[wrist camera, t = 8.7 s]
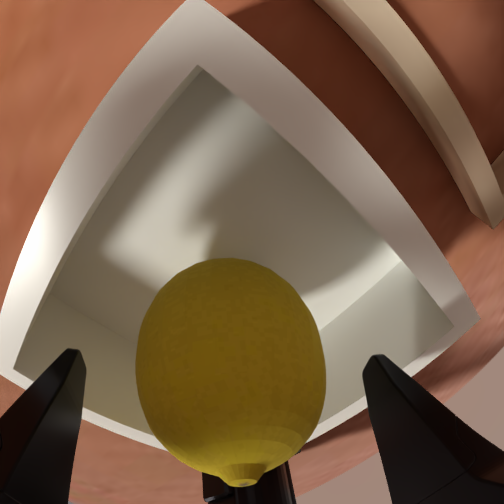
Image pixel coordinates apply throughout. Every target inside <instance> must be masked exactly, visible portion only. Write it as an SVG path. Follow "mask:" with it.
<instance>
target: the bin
mask: <svg viewBox="0 0 504 504" xmlns="http://www.w3.org/2000/svg"><path fill="white" fill-rule="evenodd" d="M216 258H237V259H243V260H249V261H252V262H255V263H257V264H260V265H262V266H264V267H267V268H269V269H271V270H272V271H274V272H275V273H276V274H278V275H279V276H280V277H282V278H283V279H284V280H286V281H287V282H288V283H290V284H291V286H292V287H293V288H294V289H295V290H296V292H297V293H298V294H299V296H300V297H301V299H302V300H303V301H304V303H305V304H306V306H307V307H308V309H309V310H310V312H311V314H312V316H313V318H314V320H315V322H316V325H317V328H318V331H319V335H320V339H321V343H322V347H323V352H324V358H325V365H326V395H325V401H324V406H323V410H322V413H321V417H320V419H319V422H318V425H317V427H316V428H315V430H314V432H313V433H312V435H311V437H310V438H309V439H308V440H307V442H309V441H311V440H312V439H314V438H316V437H318V436H320V435H322V434H324V433H325V432H327V431H329V430H331V429H332V428H334V427H336V426H338V425H339V424H341V423H343V422H344V421H346V420H348V419H349V418H351V417H353V416H354V415H356V414H358V413H359V412H361V411H362V410H364V409H366V408H367V407H368V406H367V400H366V395H365V389H364V384H363V379H362V372H363V369H364V367H365V366H366V364H367V362H368V360H369V358H370V357H371V356H372V355H375V354H384V355H385V356H387V357H388V358H389V359H390V360H391V361H392V362H394V363H395V364H396V365H397V366H398V367H400V368H401V369H402V370H403V371H404V372H405V373H407V374H408V375H409V376H410V377H412V376H413V375H415V374H416V373H417V372H419V371H420V370H421V369H423V368H424V367H425V366H426V365H428V364H429V363H430V362H431V361H433V360H434V359H435V358H436V357H438V356H439V355H440V354H441V353H443V352H444V351H445V350H446V349H447V348H449V347H450V346H451V345H452V344H453V343H454V342H456V341H457V340H458V339H459V338H460V337H461V336H462V335H464V334H465V333H466V332H467V331H468V330H469V329H470V328H471V327H472V326H474V325H475V324H476V323H477V322H478V321H479V320H480V317H479V315H478V313H477V311H476V309H475V307H474V306H473V304H472V302H471V300H470V298H469V297H468V295H467V293H466V291H465V290H464V288H463V286H462V285H461V283H460V281H459V279H458V278H457V276H456V274H455V273H454V271H453V270H452V268H451V266H450V265H449V263H448V262H447V260H446V258H445V257H444V255H443V254H442V252H441V251H440V249H439V247H438V246H437V244H436V243H435V241H434V240H433V238H432V237H431V235H430V234H429V233H428V231H427V230H426V228H425V227H424V225H423V224H422V222H421V221H420V220H419V218H418V217H417V215H416V214H415V213H414V211H413V210H412V208H411V207H410V206H409V204H408V203H407V202H406V200H405V199H404V198H403V196H402V195H401V194H400V192H399V191H398V190H397V188H396V187H395V186H394V185H393V183H392V182H391V181H390V179H389V178H388V177H387V176H386V174H385V173H384V172H383V171H382V169H381V168H380V167H379V166H378V165H377V163H376V162H375V161H374V160H373V158H372V157H371V156H370V155H369V154H368V153H367V151H366V150H365V149H364V148H363V147H362V146H361V144H360V143H359V142H358V141H357V140H356V139H355V137H354V136H353V135H352V134H351V133H350V132H349V131H348V130H347V129H346V127H345V126H344V125H343V124H342V123H341V122H340V121H339V120H338V119H337V118H336V117H335V116H334V114H333V113H332V112H331V111H330V110H329V109H328V108H327V107H326V106H325V105H324V104H323V103H322V102H321V101H320V100H319V99H318V98H317V97H316V96H315V95H314V94H313V93H312V92H311V91H310V90H309V89H308V88H307V87H306V86H305V85H304V84H303V83H302V82H301V81H300V80H299V79H298V78H297V77H296V76H295V75H294V74H293V73H292V72H290V71H289V70H288V69H287V68H286V67H285V66H284V65H283V64H282V63H281V62H280V61H278V60H277V59H276V58H275V57H274V56H273V55H272V54H271V53H269V52H268V51H267V50H266V49H265V48H264V47H263V46H261V45H260V44H259V43H258V42H257V41H256V40H254V39H253V38H252V37H251V36H250V35H248V34H247V33H246V32H245V31H243V30H242V29H241V28H240V27H238V26H237V25H236V24H235V23H233V22H232V21H231V20H230V19H228V18H227V17H226V16H224V15H223V14H222V13H220V12H219V11H218V10H216V9H215V8H214V7H212V6H211V5H210V4H208V3H207V2H206V1H204V0H186V1H185V2H184V3H183V4H182V5H181V6H180V7H179V8H178V9H177V10H176V11H175V12H174V13H173V14H172V15H171V16H170V17H169V18H168V19H167V20H166V22H165V23H164V24H163V25H162V26H161V27H160V28H159V29H158V30H157V31H156V33H155V34H154V35H153V36H152V37H151V38H150V39H149V41H148V42H147V43H146V44H145V45H144V46H143V48H142V49H141V50H140V51H139V52H138V54H137V55H136V56H135V57H134V59H133V60H132V61H131V62H130V64H129V65H128V66H127V67H126V69H125V70H124V71H123V73H122V74H121V75H120V77H119V78H118V79H117V81H116V82H115V83H114V85H113V86H112V87H111V89H110V90H109V91H108V93H107V94H106V96H105V97H104V99H103V100H102V101H101V103H100V104H99V106H98V107H97V109H96V110H95V112H94V113H93V115H92V116H91V118H90V119H89V121H88V122H87V124H86V126H85V127H84V129H83V130H82V132H81V134H80V135H79V137H78V138H77V140H76V142H75V143H74V145H73V147H72V149H71V150H70V152H69V154H68V155H67V157H66V159H65V161H64V163H63V164H62V166H61V168H60V170H59V172H58V174H57V175H56V177H55V179H54V181H53V183H52V185H51V187H50V189H49V191H48V193H47V195H46V197H45V199H44V201H43V203H42V205H41V207H40V210H39V212H38V214H37V216H36V218H35V221H34V223H33V225H32V227H31V230H30V232H29V234H28V237H27V239H26V242H25V244H24V247H23V249H22V252H21V254H20V257H19V259H18V262H17V265H16V267H15V270H14V273H13V276H12V279H11V282H10V285H9V288H8V291H7V294H6V297H5V300H4V304H3V307H2V310H1V314H0V374H1V375H2V376H4V377H5V378H7V379H8V380H10V381H12V382H13V383H15V384H17V385H18V386H20V387H22V388H24V389H25V390H27V388H28V387H29V386H30V385H31V384H32V383H33V382H34V381H35V380H36V379H37V378H38V377H39V376H40V375H41V374H42V373H43V372H44V371H45V370H46V369H47V368H48V367H49V366H50V365H51V364H52V363H53V362H54V361H55V360H56V359H57V358H58V357H59V355H60V354H61V353H62V352H63V351H64V350H66V349H67V348H73V349H78V350H80V351H81V353H82V356H83V359H84V362H85V365H86V370H87V373H86V382H85V390H84V400H83V410H82V419H84V420H86V421H89V422H91V423H93V424H95V425H98V426H100V427H102V428H105V429H107V430H110V431H112V432H115V433H117V434H120V435H123V436H125V437H128V438H131V439H133V440H136V441H139V442H142V443H145V444H148V445H151V446H154V447H157V448H160V449H163V450H166V451H168V450H167V449H166V448H165V447H164V446H163V445H162V444H161V443H160V442H159V441H158V440H157V439H156V437H155V436H154V434H153V432H152V431H151V429H150V428H149V425H148V423H147V420H146V418H145V415H144V412H143V410H142V407H141V404H140V400H139V396H138V390H137V384H136V374H135V361H136V351H137V343H138V336H139V331H140V327H141V324H142V321H143V318H144V316H145V314H146V312H147V310H148V308H149V307H150V305H151V303H152V301H153V300H154V298H155V296H156V295H157V293H158V292H159V290H160V289H161V288H162V287H163V286H164V285H165V284H166V283H167V282H168V281H169V280H171V279H172V278H173V277H174V276H175V275H176V274H177V273H179V272H181V271H183V270H184V269H186V268H188V267H190V266H192V265H194V264H196V263H199V262H203V261H207V260H210V259H216ZM307 442H306V443H307Z"/></svg>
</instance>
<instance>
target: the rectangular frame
mask: <svg viewBox="0 0 504 504" xmlns="http://www.w3.org/2000/svg"><path fill="white" fill-rule="evenodd" d="M313 1H315V2H316V3H317V4H318V5H319V6H320V7H321V8H322V9H323V10H324V11H325V12H326V13H327V14H328V15H329V16H330V17H331V18H332V19H333V20H334V21H335V22H336V23H337V24H338V25H339V26H340V27H341V28H342V29H343V30H344V31H345V32H346V33H347V34H348V35H349V36H350V37H351V38H352V39H353V41H354V42H355V43H356V44H357V45H358V46H359V47H360V48H361V49H362V51H363V52H364V53H365V54H366V55H367V56H368V57H369V59H370V60H371V61H372V62H373V63H374V64H375V66H376V67H377V68H378V69H379V70H380V72H381V73H382V74H383V75H384V77H385V78H386V79H387V80H388V82H389V83H390V84H391V85H392V87H393V88H394V89H395V91H396V92H397V93H398V95H399V96H400V97H401V99H402V100H403V101H404V103H405V104H406V105H407V107H408V108H409V109H410V111H411V112H412V114H413V115H414V117H415V118H416V119H417V121H418V122H419V124H420V125H421V127H422V128H423V130H424V131H425V133H426V134H427V136H428V137H429V139H430V140H431V142H432V144H433V145H434V147H435V148H436V150H437V152H438V153H439V155H440V157H441V158H442V160H443V162H444V163H445V165H446V167H447V168H448V170H449V172H450V174H451V175H452V177H453V179H454V181H455V182H456V184H457V186H458V188H459V190H460V192H461V194H462V195H463V197H464V199H465V201H466V203H467V205H468V207H469V209H470V211H471V213H473V214H474V215H475V216H477V217H478V218H479V219H481V220H482V221H483V222H484V223H486V224H487V225H488V226H489V227H491V228H492V229H494V228H495V227H496V226H497V225H498V224H499V223H500V222H501V220H502V219H503V218H504V150H503V152H502V153H501V154H500V155H499V156H498V158H497V159H496V160H495V161H494V162H493V163H492V165H491V166H490V164H489V161H488V159H487V157H486V155H485V152H484V150H483V148H482V146H481V144H480V142H479V140H478V138H477V136H476V134H475V132H474V130H473V128H472V126H471V124H470V122H469V120H468V118H467V116H466V114H465V113H464V111H463V109H462V107H461V105H460V104H459V102H458V100H457V98H456V97H455V95H454V93H453V92H452V90H451V88H450V87H449V85H448V84H447V82H446V80H445V79H444V77H443V76H442V74H441V72H440V71H439V69H438V68H437V66H436V65H435V63H434V62H433V60H432V59H431V58H430V56H429V55H428V53H427V52H426V50H425V49H424V48H423V46H422V45H421V44H420V42H419V41H418V39H417V38H416V37H415V35H414V34H413V33H412V32H411V30H410V29H409V28H408V26H407V25H406V24H405V23H404V21H403V20H402V19H401V18H400V16H399V15H398V14H397V13H396V12H395V11H394V9H393V8H392V7H391V6H390V5H389V4H388V2H387V1H386V0H313Z"/></svg>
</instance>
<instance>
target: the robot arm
mask: <svg viewBox="0 0 504 504" xmlns="http://www.w3.org/2000/svg"><path fill="white" fill-rule="evenodd" d="M86 373H87V370H86V365H85V362H84V359H83V356H82V353H81V351H80V350H78V349H73V348H67V349H66V350H64V351H63V352H62V353H61V354H60V355H59V357H58V358H57V359H56V360H55V361H54V362H53V363H52V364H51V365H50V366H49V367H48V368H47V369H46V370H45V371H44V372H43V373H42V374H41V375H40V376H39V377H38V378H37V379H36V380H35V381H34V382H33V383H32V384H31V385H30V386H29V387H28V388H27V390H26V391H25V392H24V393H23V394H22V395H21V396H20V397H19V398H18V399H17V400H16V401H15V402H14V403H13V405H12V406H11V407H10V408H9V409H8V410H7V411H6V412H5V413H4V414H3V415H2V417H1V418H0V504H68V498H69V490H70V482H71V475H72V469H73V462H74V456H75V450H76V445H77V439H78V434H79V429H80V424H81V418H82V410H83V400H84V390H85V382H86ZM362 379H363V384H364V389H365V395H366V400H367V406H368V412H369V416H370V420H371V424H372V427H373V431H374V434H375V438H376V442H377V445H378V449H379V453H380V456H381V460H382V464H383V467H384V472H385V475H386V479H387V483H388V487H389V492H390V496H391V500H392V504H504V451H502V450H501V449H499V448H498V447H497V446H495V445H494V444H492V443H491V442H489V441H488V440H486V439H485V438H484V437H482V436H481V435H479V434H478V433H477V432H476V431H474V430H473V429H472V428H470V427H469V426H468V425H467V424H465V423H464V422H463V421H462V420H461V419H459V418H458V417H457V416H455V414H454V413H452V412H451V411H450V410H449V409H448V408H447V407H445V406H444V405H443V404H442V403H441V402H440V401H438V400H437V399H436V398H435V397H434V396H433V395H431V394H430V393H429V392H428V391H427V390H425V389H424V388H423V387H422V386H421V385H420V384H418V383H417V382H416V381H415V380H414V379H413V378H411V377H410V376H409V375H408V374H407V373H405V372H404V371H403V370H402V369H401V368H400V367H398V366H397V365H396V364H395V363H394V362H392V361H391V360H390V359H389V358H388V357H387V356H385V355H384V354H375V355H372V356H371V357H370V358H369V360H368V362H367V364H366V366H365V367H364V369H363V372H362ZM300 452H301V449H300V450H299V451H298V452H297V453H296V454H298V453H300ZM296 454H295V455H296ZM293 456H294V455H293ZM202 480H203V498H204V501H205V502H208V504H296V499H295V494H294V489H293V484H292V479H291V474H290V469H289V464H288V460H287V461H286V462H284V463H283V464H281V465H279V466H277V467H276V468H274V469H272V470H269V471H267V472H264V473H263V475H262V476H261V477H260V479H259V480H258V481H257V483H255V484H253V485H250V486H243V487H234V486H229V485H228V484H227V483H226V482H224V481H223V480H222V479H221V478H220V477H219V476H214V475H210V474H207V473H204V472H202Z"/></svg>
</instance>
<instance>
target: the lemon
mask: <svg viewBox="0 0 504 504" xmlns="http://www.w3.org/2000/svg"><path fill="white" fill-rule="evenodd" d="M135 374H136V384H137V390H138V396H139V400H140V404H141V407H142V410H143V412H144V415H145V418H146V420H147V423H148V425H149V428H150V429H151V431H152V432H153V434H154V436H155V437H156V439H157V440H158V441H159V442H160V443H161V444H162V445H163V446H164V447H165V448H166V449H167V450H168V451H169V452H170V453H171V454H172V455H173V456H175V457H176V458H177V459H178V460H180V461H181V462H183V463H185V464H186V465H188V466H190V467H192V468H194V469H196V470H198V471H201V472H204V473H207V474H210V475H214V476H219V477H220V478H221V479H222V480H223V481H224V482H226V483H227V484H228V485H229V486H234V487H243V486H250V485H253V484H255V483H257V481H258V480H259V479H260V477H261V476H262V475H263V473H264V472H267V471H269V470H272V469H274V468H276V467H277V466H279V465H281V464H283V463H284V462H286V461H287V460H289V459H290V458H291V457H292V456H293V455H295V454H296V453H297V452H298V451H299V450H300V449H301V447H302V446H303V445H304V444H305V443H306V442H307V440H308V439H309V438H310V437H311V435H312V433H313V432H314V430H315V428H316V427H317V425H318V422H319V419H320V417H321V413H322V410H323V406H324V401H325V395H326V365H325V358H324V352H323V347H322V343H321V339H320V335H319V331H318V328H317V325H316V322H315V320H314V318H313V316H312V314H311V312H310V310H309V309H308V307H307V306H306V304H305V303H304V301H303V300H302V299H301V297H300V296H299V294H298V293H297V292H296V290H295V289H294V288H293V287H292V286H291V284H290V283H288V282H287V281H286V280H284V279H283V278H282V277H280V276H279V275H278V274H276V273H275V272H274V271H272V270H271V269H269V268H267V267H264V266H262V265H260V264H257V263H255V262H252V261H249V260H243V259H237V258H216V259H210V260H207V261H203V262H199V263H196V264H194V265H192V266H190V267H188V268H186V269H184V270H183V271H181V272H179V273H177V274H176V275H175V276H174V277H173V278H172V279H171V280H169V281H168V282H167V283H166V284H165V285H164V286H163V287H162V288H161V289H160V290H159V292H158V293H157V295H156V296H155V298H154V300H153V301H152V303H151V305H150V307H149V308H148V310H147V312H146V314H145V316H144V318H143V321H142V324H141V327H140V331H139V336H138V343H137V351H136V361H135Z"/></svg>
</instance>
